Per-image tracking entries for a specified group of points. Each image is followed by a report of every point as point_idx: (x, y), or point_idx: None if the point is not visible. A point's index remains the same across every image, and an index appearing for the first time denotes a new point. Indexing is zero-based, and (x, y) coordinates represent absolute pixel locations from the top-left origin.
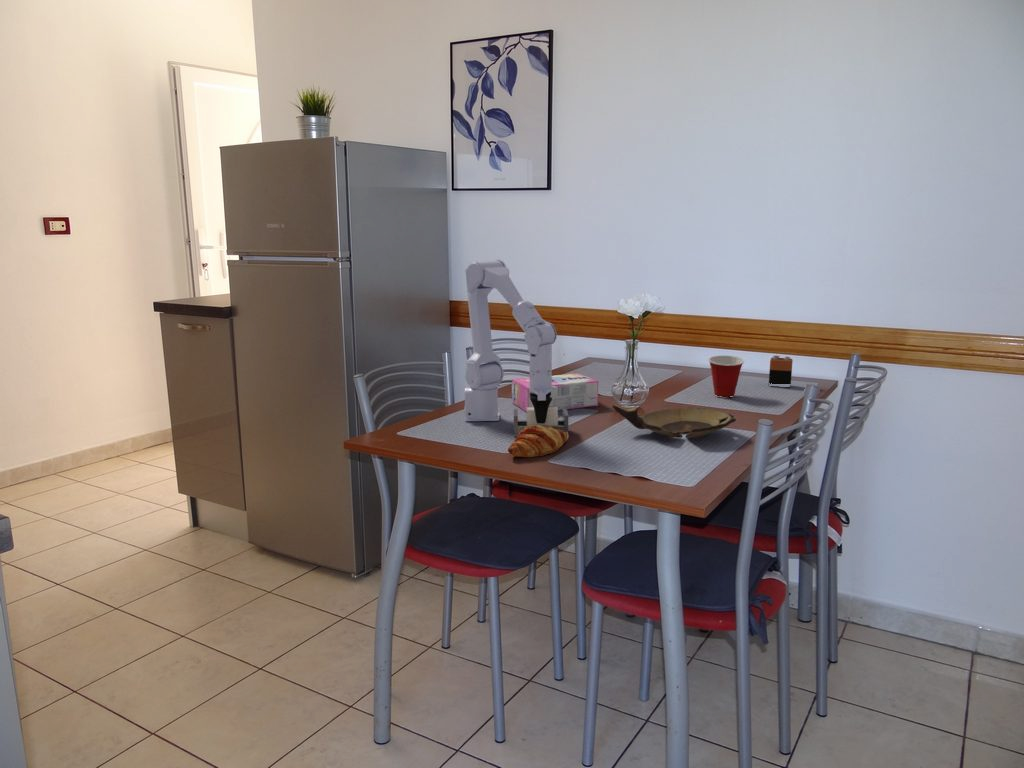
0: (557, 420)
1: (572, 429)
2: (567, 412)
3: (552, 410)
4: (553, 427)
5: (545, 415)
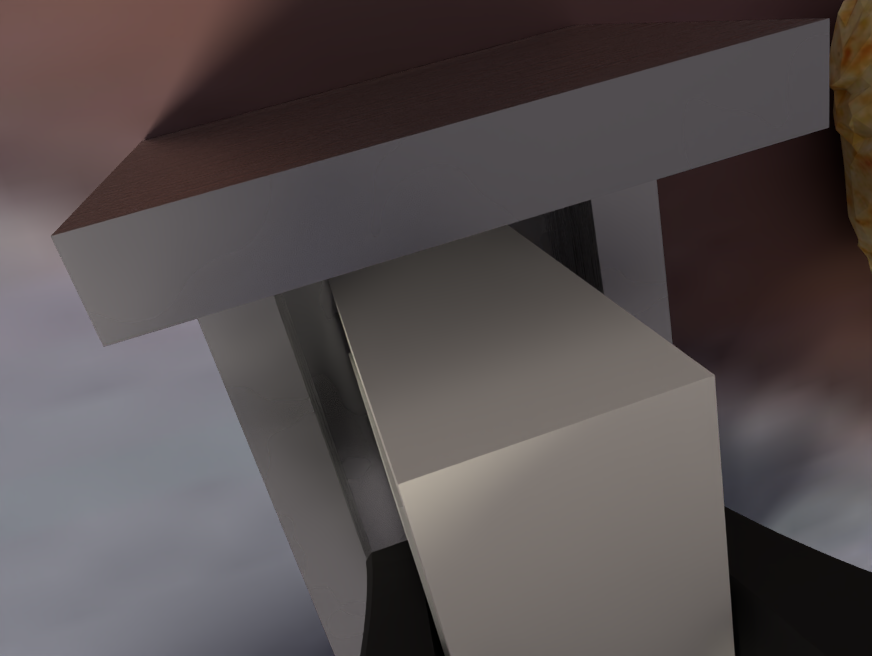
0: (581, 286)
1: (102, 23)
2: (508, 109)
3: (715, 489)
4: (657, 291)
5: (749, 530)
